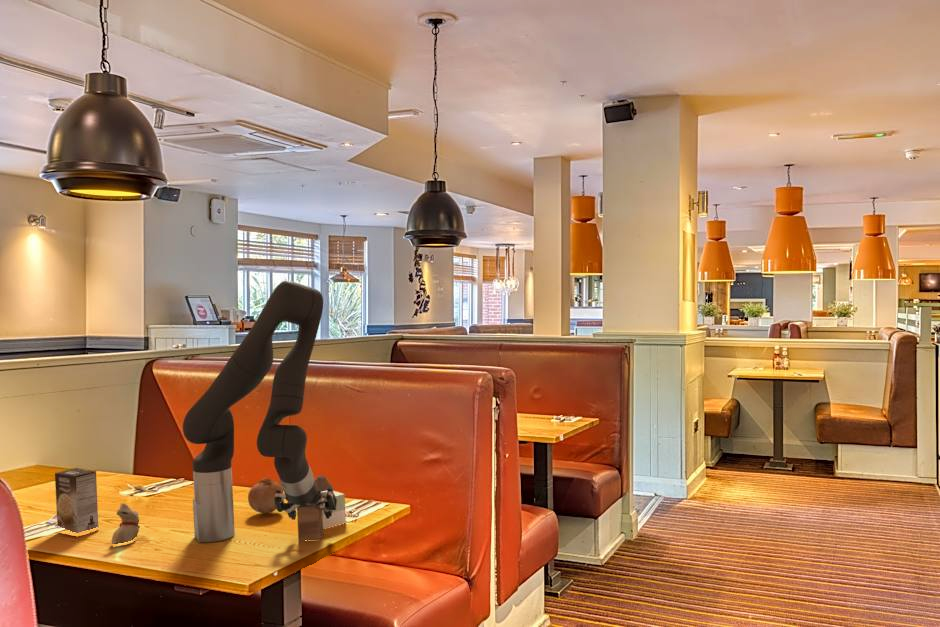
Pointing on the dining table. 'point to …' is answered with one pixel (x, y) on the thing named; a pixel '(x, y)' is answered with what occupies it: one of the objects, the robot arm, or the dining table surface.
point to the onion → (264, 496)
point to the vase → (323, 483)
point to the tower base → (334, 519)
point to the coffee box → (76, 499)
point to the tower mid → (338, 502)
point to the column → (309, 523)
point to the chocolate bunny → (126, 525)
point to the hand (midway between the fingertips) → (311, 515)
